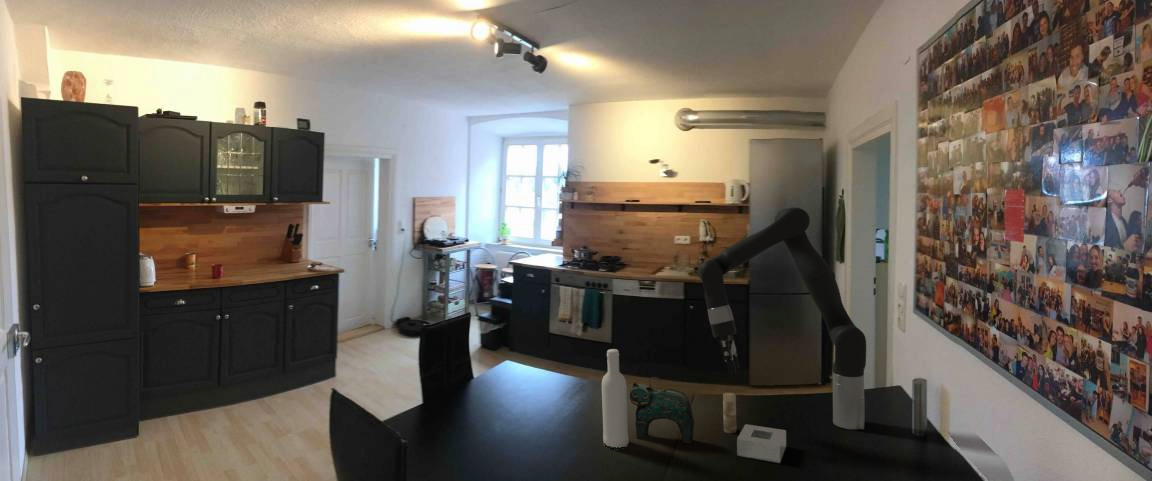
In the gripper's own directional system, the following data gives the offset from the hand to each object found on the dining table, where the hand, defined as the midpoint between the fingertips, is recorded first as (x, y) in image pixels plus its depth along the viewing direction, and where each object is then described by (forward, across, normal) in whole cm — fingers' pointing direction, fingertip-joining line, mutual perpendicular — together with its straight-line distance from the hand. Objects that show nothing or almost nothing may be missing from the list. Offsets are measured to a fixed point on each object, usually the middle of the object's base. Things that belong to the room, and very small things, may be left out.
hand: (734, 370), depth 179 cm
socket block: (+23, -8, -3) cm, 25 cm away
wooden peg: (+19, +4, +7) cm, 21 cm away
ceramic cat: (+16, -8, +26) cm, 32 cm away
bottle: (+14, -16, +39) cm, 44 cm away
